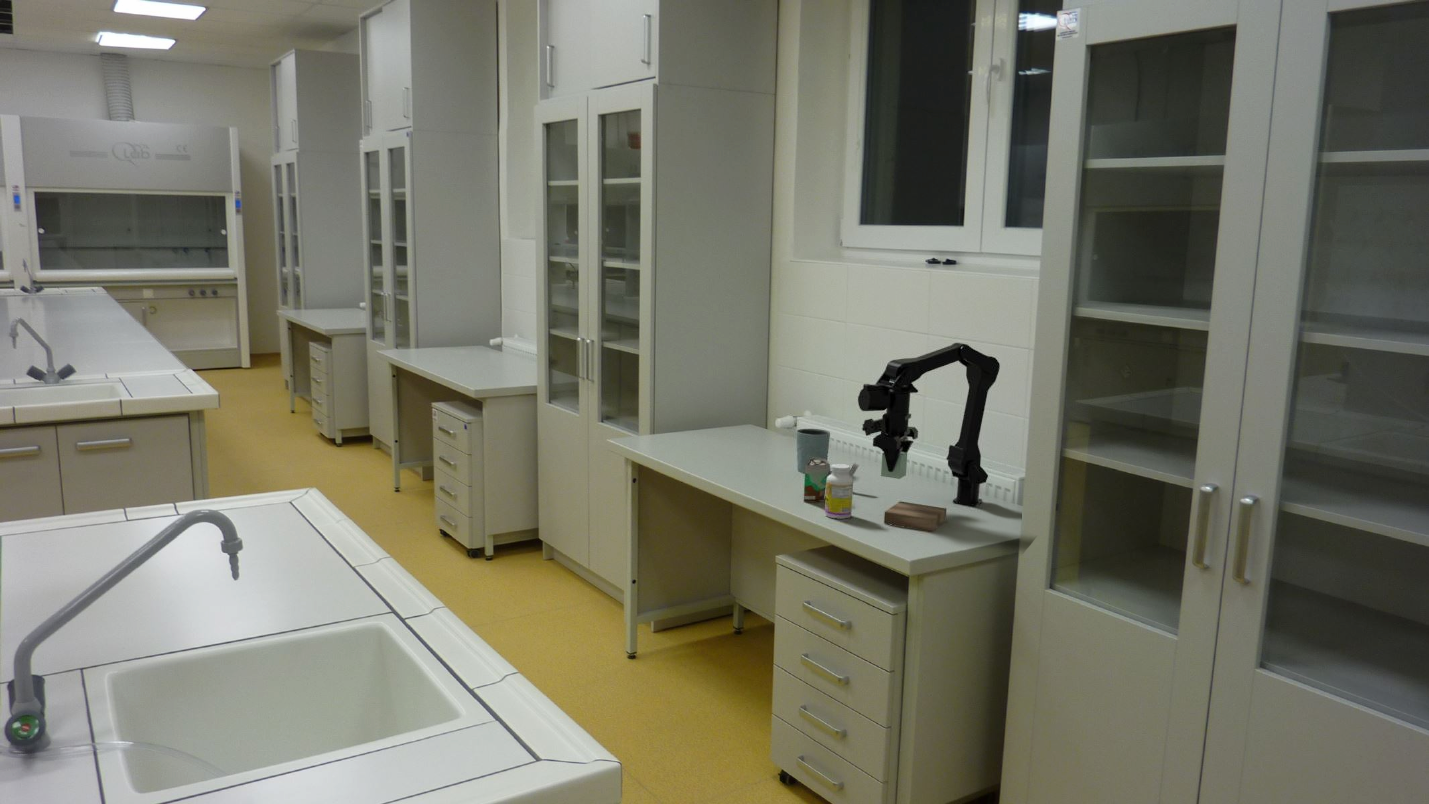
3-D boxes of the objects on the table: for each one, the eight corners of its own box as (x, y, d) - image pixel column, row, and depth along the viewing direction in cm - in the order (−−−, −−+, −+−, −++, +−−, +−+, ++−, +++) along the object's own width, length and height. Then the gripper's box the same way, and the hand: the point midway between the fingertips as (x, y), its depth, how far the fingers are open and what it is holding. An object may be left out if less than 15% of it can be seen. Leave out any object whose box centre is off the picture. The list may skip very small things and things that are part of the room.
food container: (826, 505, 263) (828, 467, 261) (803, 503, 264) (804, 465, 262) (830, 493, 275) (832, 457, 273) (808, 492, 276) (810, 456, 274)
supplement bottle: (827, 511, 257) (829, 461, 255) (853, 514, 255) (856, 464, 253) (822, 517, 251) (825, 467, 249) (848, 520, 249) (851, 469, 247)
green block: (887, 472, 264) (888, 450, 263) (905, 475, 261) (907, 452, 260) (880, 476, 259) (882, 453, 258) (899, 478, 257) (901, 455, 256)
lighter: (830, 490, 279) (832, 461, 278) (832, 488, 280) (833, 460, 279) (856, 493, 276) (857, 464, 275) (857, 491, 278) (859, 463, 277)
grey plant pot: (811, 476, 294) (813, 435, 292) (787, 469, 302) (788, 430, 300) (835, 472, 301) (837, 432, 299) (810, 465, 308) (812, 426, 306)
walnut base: (899, 512, 258) (900, 501, 257) (945, 520, 252) (946, 508, 252) (883, 523, 247) (884, 511, 247) (931, 531, 242) (932, 519, 241)
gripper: (879, 402, 270) (876, 459, 272) (855, 411, 253) (851, 472, 256) (920, 406, 264) (916, 464, 267) (897, 416, 248) (893, 478, 251)
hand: (893, 469), depth 260 cm, fingers closed on green block, 5 cm apart
